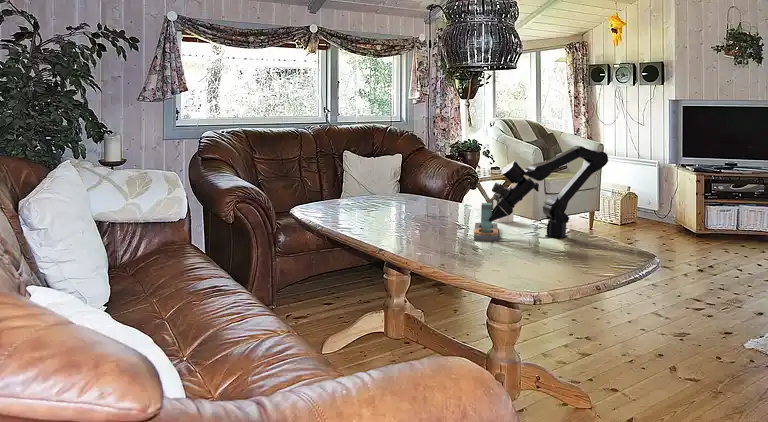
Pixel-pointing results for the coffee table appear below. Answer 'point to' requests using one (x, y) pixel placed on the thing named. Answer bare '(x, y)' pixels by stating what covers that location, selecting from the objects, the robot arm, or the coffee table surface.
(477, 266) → the coffee table surface
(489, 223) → the peg
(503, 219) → the jar
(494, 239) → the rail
